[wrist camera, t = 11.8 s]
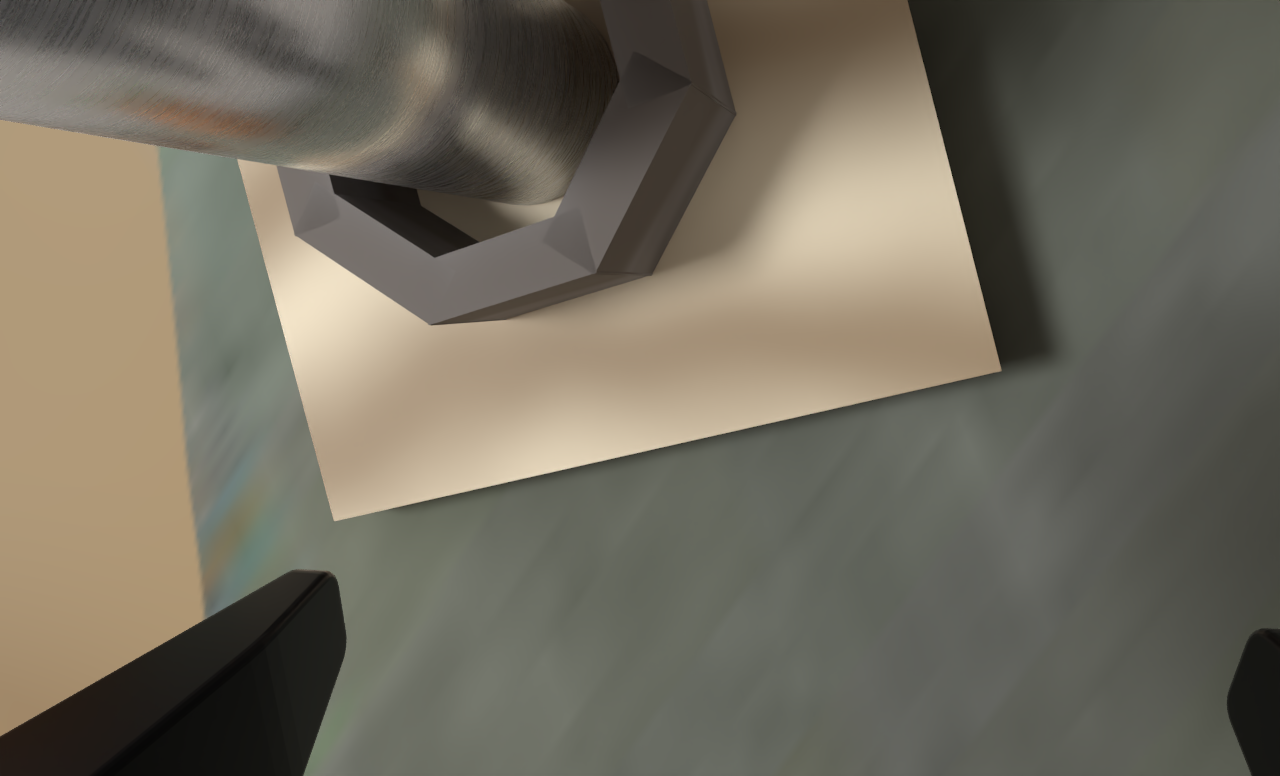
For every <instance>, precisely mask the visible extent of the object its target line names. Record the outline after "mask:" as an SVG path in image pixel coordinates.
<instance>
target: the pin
mask: <svg viewBox="0 0 1280 776" xmlns="http://www.w3.org/2000/svg"><path fill="white" fill-rule="evenodd" d="M618 83H619V79H618V73H617V68H616V64H615V61H614V58H613V55H612V53H611V50H610V48H609V46H608V44H607V42H606V40H605V39H604V37H603V36H602V34H601V32H600V31H599V30H598V28H597V27H596V26H595V25H594V24H593V23H592V21H591V20H590V19H588V18H587V17H586V16H585V15H584V14H583V13H582V12H580V11H579V10H577V9H576V8H574V7H573V6H571V5H570V4H568V3H567V2H565V1H564V0H0V120H5V121H11V122H18V123H23V124H30V125H36V126H41V127H48V128H54V129H60V130H65V131H72V132H78V133H84V134H90V135H96V136H102V137H108V138H114V139H120V140H126V141H132V142H138V143H144V144H150V145H156V146H162V147H168V148H174V149H180V150H186V151H192V152H198V153H204V154H210V155H216V156H222V157H228V158H234V159H240V160H246V161H252V162H258V163H264V164H271V165H277V166H283V167H289V168H295V169H301V170H307V171H313V172H319V173H325V174H331V175H337V176H343V177H349V178H355V179H361V180H367V181H373V182H379V183H385V184H391V185H397V186H403V187H409V188H415V189H421V190H427V191H433V192H439V193H445V194H451V195H458V196H464V197H470V198H476V199H482V200H488V201H494V202H500V203H506V204H512V205H524V206H529V205H538V204H542V203H546V202H550V201H553V200H555V199H557V198H560V197H562V196H564V195H565V193H566V191H567V189H568V187H569V185H570V183H571V181H572V179H573V177H574V174H575V172H576V170H577V168H578V166H579V164H580V162H581V160H582V158H583V156H584V154H585V152H586V150H587V148H588V145H589V143H590V141H591V139H592V137H593V135H594V133H595V131H596V129H597V127H598V125H599V123H600V121H601V118H602V116H603V114H604V112H605V110H606V108H607V106H608V104H609V102H610V100H611V98H612V96H613V94H614V92H615V89H616V87H617V85H618Z"/></svg>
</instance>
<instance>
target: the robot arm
mask: <svg viewBox="0 0 1280 776" xmlns="http://www.w3.org/2000/svg"><path fill="white" fill-rule="evenodd" d="M345 650H346V630H345V623H344V617H343V611H342V604H341V598H340V592H339V585H338V582H337V579H336V577H335V575H333V574H332V573H331V572H329V571H320V570H304V569H296V570H292V571H290V572H288V573H286V574H284V575H282V576H280V577H279V578H277V579H275V580H273V581H272V582H270V583H268V584H266V585H265V586H263V587H261V588H259V589H258V590H256V591H254V592H252V593H251V594H249V595H247V596H245V597H244V598H242V599H240V600H238V601H237V602H235V603H233V604H231V605H230V606H228V607H226V608H224V609H223V610H221V611H219V612H217V613H216V614H214V615H212V616H210V617H209V618H207V619H205V620H203V621H202V622H200V623H198V624H196V625H195V626H193V627H191V628H189V629H188V630H186V631H184V632H182V633H181V634H179V635H177V636H175V637H174V638H172V639H170V640H168V641H167V642H165V643H163V644H162V645H160V646H158V647H156V648H154V649H153V650H151V651H149V652H147V653H146V654H144V655H142V656H141V657H139V658H137V659H135V660H133V661H132V662H130V663H128V664H126V665H125V666H123V667H121V668H119V669H118V670H116V671H114V672H112V673H111V674H109V675H107V676H105V677H104V678H102V679H100V680H98V681H97V682H95V683H93V684H91V685H90V686H88V687H86V688H84V689H83V690H81V691H79V692H77V693H76V694H74V695H72V696H70V697H69V698H67V699H65V700H63V701H61V702H60V703H58V704H56V705H55V706H53V707H51V708H49V709H48V710H46V711H44V712H42V713H41V714H39V715H37V716H35V717H33V718H32V719H30V720H28V721H26V722H25V723H23V724H21V725H19V726H18V727H16V728H14V729H12V730H11V731H9V732H8V733H5V734H4V735H2V736H0V776H303V775H304V772H305V769H306V766H307V763H308V760H309V757H310V755H311V752H312V749H313V746H314V743H315V740H316V737H317V734H318V732H319V729H320V726H321V723H322V720H323V717H324V714H325V711H326V708H327V706H328V703H329V700H330V697H331V694H332V691H333V688H334V685H335V682H336V680H337V677H338V674H339V671H340V668H341V665H342V662H343V659H344V655H345ZM1227 710H1228V715H1229V719H1230V722H1231V725H1232V727H1233V730H1234V732H1235V735H1236V737H1237V740H1238V742H1239V745H1240V747H1241V750H1242V752H1243V755H1244V757H1245V760H1246V762H1247V765H1248V767H1249V770H1250V772H1251V775H1252V776H1280V629H1269V628H1263V629H1259V630H1256V631H1255V632H1253V633H1252V634H1251V635H1250V636H1249V638H1248V640H1247V643H1246V645H1245V648H1244V651H1243V654H1242V656H1241V659H1240V662H1239V664H1238V667H1237V670H1236V672H1235V675H1234V678H1233V681H1232V683H1231V686H1230V689H1229V692H1228V697H1227Z"/></svg>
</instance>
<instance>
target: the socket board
mask: <svg viewBox="0 0 1280 776" xmlns="http://www.w3.org/2000/svg"><path fill="white" fill-rule="evenodd" d="M564 1H565V2H567V3H568V4H570V5H571V6H573V7H574V8H576V9H577V10H579V11H580V12H582V13H583V14H584V15H585V16H586V17H587V18H588V19H590V20H591V21H592V23H593V24H594V25H595V26H596V27H597V28H598V30H599V31H600V32H601V34H602V36H603V37H604V39H605V40H606V42H607V44H608V46H609V48H610V50H611V53H612V55H613V58H614V61H615V64H616V68H617V73H618V79H619V83H618V85H617V87H616V89H615V92H614V94H613V96H612V98H611V100H610V102H609V104H608V106H607V108H606V110H605V112H604V114H603V116H602V118H601V121H600V123H599V125H598V127H597V129H596V131H595V133H594V135H593V137H592V139H591V141H590V143H589V145H588V148H587V150H586V152H585V154H584V156H583V158H582V160H581V162H580V164H579V166H578V168H577V170H576V172H575V174H574V177H573V179H572V181H571V183H570V185H569V187H568V189H567V191H566V193H565V195H564V196H562V197H560V198H557V199H555V200H553V201H550V202H546V203H542V204H538V205H529V206H524V205H512V204H506V203H500V202H494V201H488V200H482V199H476V198H470V197H464V196H458V195H451V194H445V193H439V192H433V191H427V190H421V189H415V188H409V187H403V186H397V185H391V184H385V183H379V182H373V181H367V180H361V179H355V178H349V177H343V176H337V175H331V174H325V173H319V172H313V171H307V170H301V169H295V168H289V167H283V166H277V165H271V164H264V163H258V162H252V161H246V160H240V159H237V160H238V163H239V167H240V171H241V175H242V178H243V182H244V186H245V190H246V193H247V197H248V201H249V205H250V208H251V212H252V216H253V220H254V223H255V227H256V231H257V235H258V238H259V242H260V246H261V249H262V253H263V257H264V261H265V264H266V268H267V272H268V276H269V279H270V283H271V287H272V291H273V294H274V298H275V302H276V306H277V309H278V313H279V317H280V321H281V324H282V328H283V332H284V336H285V339H286V343H287V347H288V351H289V354H290V358H291V362H292V366H293V369H294V373H295V377H296V380H297V384H298V388H299V392H300V395H301V399H302V403H303V407H304V410H305V414H306V418H307V422H308V425H309V429H310V433H311V437H312V440H313V444H314V448H315V452H316V455H317V459H318V463H319V467H320V470H321V474H322V478H323V482H324V485H325V489H326V493H327V497H328V500H329V504H330V508H331V511H332V515H333V519H334V521H337V520H342V519H346V518H351V517H355V516H360V515H364V514H368V513H373V512H377V511H382V510H386V509H391V508H395V507H400V506H404V505H408V504H413V503H417V502H422V501H426V500H431V499H435V498H440V497H444V496H448V495H453V494H457V493H462V492H466V491H471V490H475V489H480V488H484V487H488V486H493V485H497V484H502V483H506V482H511V481H515V480H519V479H524V478H528V477H533V476H537V475H542V474H546V473H551V472H555V471H559V470H564V469H568V468H573V467H577V466H582V465H586V464H591V463H595V462H599V461H604V460H608V459H613V458H617V457H622V456H626V455H630V454H635V453H639V452H644V451H648V450H653V449H657V448H662V447H666V446H670V445H675V444H679V443H684V442H688V441H693V440H697V439H702V438H706V437H710V436H715V435H719V434H724V433H728V432H733V431H737V430H742V429H746V428H750V427H755V426H759V425H764V424H768V423H773V422H777V421H781V420H786V419H790V418H795V417H799V416H804V415H808V414H813V413H817V412H821V411H826V410H830V409H835V408H839V407H844V406H848V405H853V404H857V403H861V402H866V401H870V400H875V399H879V398H884V397H888V396H892V395H897V394H901V393H906V392H910V391H915V390H919V389H924V388H928V387H932V386H937V385H941V384H946V383H950V382H955V381H959V380H964V379H968V378H972V377H977V376H981V375H986V374H990V373H995V372H999V371H1002V370H1001V366H1000V362H999V358H998V354H997V350H996V346H995V342H994V338H993V335H992V331H991V327H990V323H989V319H988V315H987V311H986V307H985V303H984V299H983V295H982V291H981V287H980V283H979V279H978V276H977V272H976V268H975V264H974V260H973V256H972V252H971V248H970V244H969V240H968V236H967V232H966V228H965V224H964V221H963V217H962V213H961V209H960V205H959V201H958V197H957V193H956V189H955V185H954V181H953V177H952V173H951V169H950V166H949V162H948V158H947V154H946V150H945V146H944V142H943V138H942V134H941V130H940V126H939V122H938V118H937V114H936V110H935V107H934V103H933V99H932V95H931V91H930V87H929V83H928V79H927V75H926V71H925V67H924V63H923V59H922V55H921V52H920V48H919V44H918V40H917V36H916V32H915V28H914V24H913V20H912V16H911V12H910V8H909V4H908V0H564Z"/></svg>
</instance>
